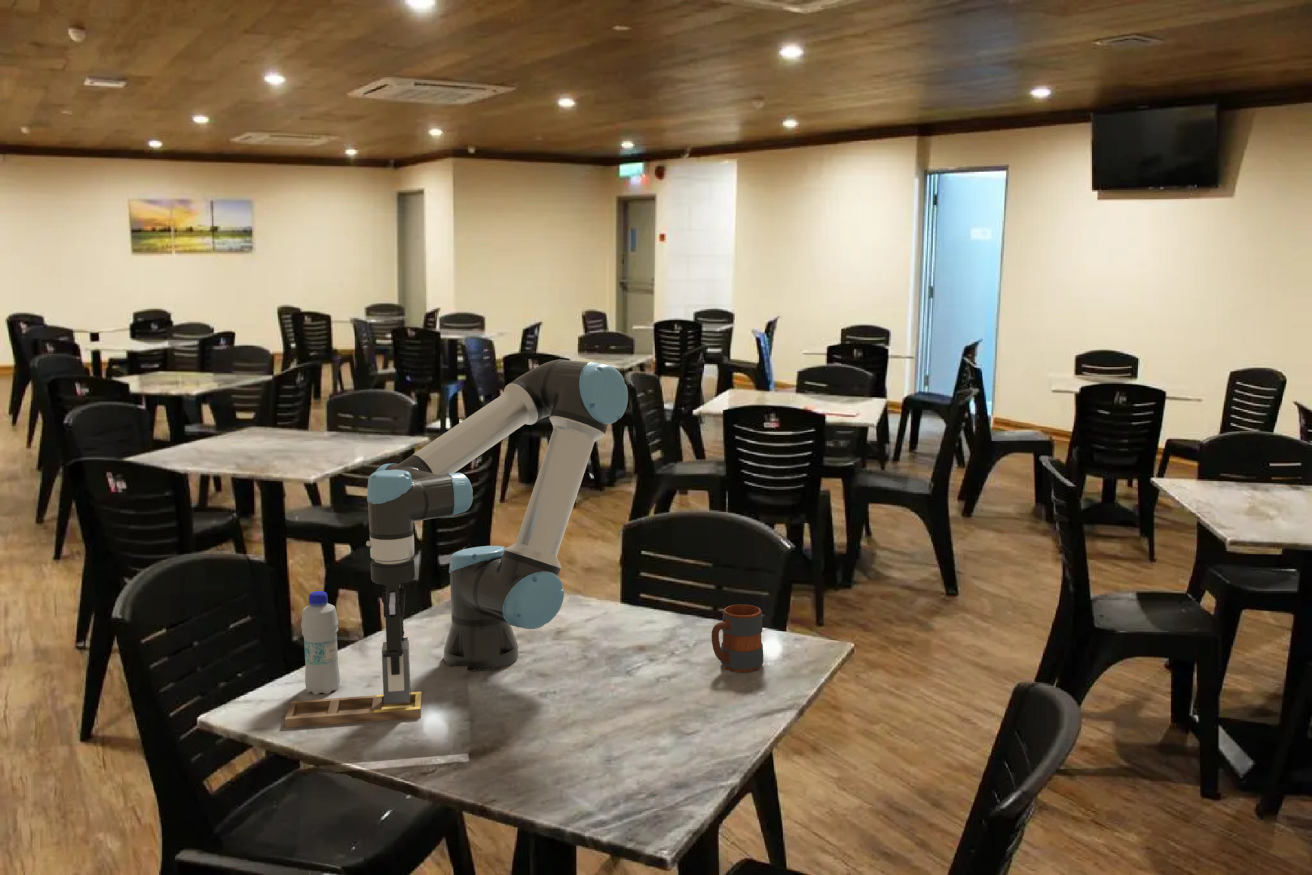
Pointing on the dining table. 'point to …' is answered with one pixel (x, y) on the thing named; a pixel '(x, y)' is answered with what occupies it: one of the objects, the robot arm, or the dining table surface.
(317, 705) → the wooden compartment tray
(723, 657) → the mug
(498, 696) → the dining table surface
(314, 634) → the bottle
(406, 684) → the block
